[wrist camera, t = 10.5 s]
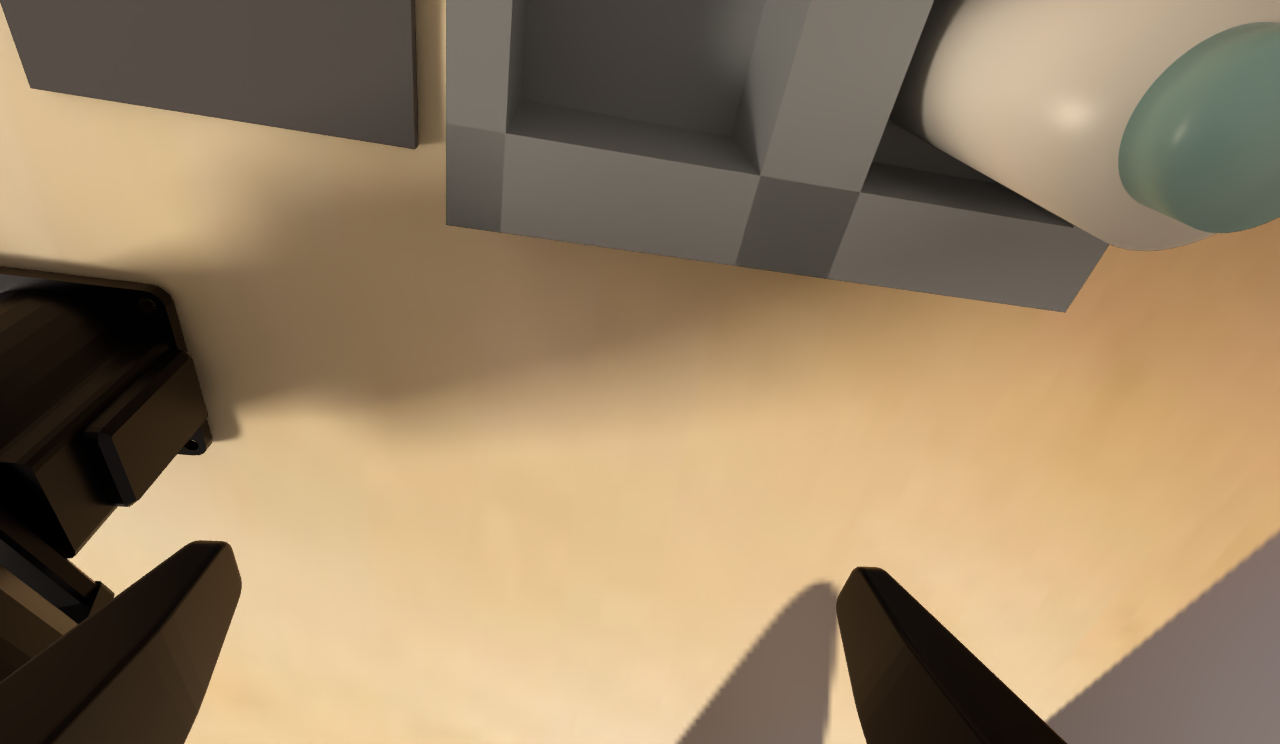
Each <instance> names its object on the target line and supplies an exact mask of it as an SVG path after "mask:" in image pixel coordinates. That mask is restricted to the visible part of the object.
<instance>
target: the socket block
mask: <svg viewBox="0 0 1280 744" xmlns="http://www.w3.org/2000/svg"><path fill="white" fill-rule="evenodd" d="M933 2H934V0H446V225H450V226H457V227H464V228H471V229H478V230H485V231H493V232H500V233H507V234H514V235H521V236H528V237H535V238H542V239H549V240H556V241H563V242H570V243H577V244H584V245H591V246H599V247H606V248H613V249H620V250H627V251H634V252H641V253H648V254H655V255H662V256H669V257H676V258H683V259H690V260H697V261H704V262H712V263H719V264H726V265H733V266H740V267H747V268H754V269H761V270H768V271H775V272H782V273H789V274H796V275H803V276H810V277H817V278H825V279H832V280H839V281H846V282H853V283H860V284H867V285H874V286H881V287H888V288H895V289H902V290H909V291H916V292H923V293H930V294H938V295H945V296H952V297H959V298H966V299H973V300H980V301H987V302H994V303H1001V304H1008V305H1015V306H1022V307H1029V308H1036V309H1043V310H1051V311H1058V312H1066V311H1067V309H1068V308H1069V306H1070V304H1071V303H1072V301H1073V300H1074V298H1075V297H1076V295H1077V294H1078V292H1079V291H1080V289H1081V287H1082V286H1083V284H1084V283H1085V281H1086V280H1087V278H1088V277H1089V275H1090V274H1091V272H1092V271H1093V269H1094V267H1095V266H1096V264H1097V263H1098V261H1099V260H1100V258H1101V257H1102V255H1103V254H1104V252H1105V250H1106V249H1107V247H1108V246H1109V244H1108V243H1106V242H1104V241H1102V240H1100V239H1098V238H1097V237H1095V236H1093V235H1091V234H1089V233H1088V232H1086V231H1084V230H1082V229H1080V228H1079V227H1077V226H1075V225H1073V224H1072V223H1070V222H1068V221H1066V220H1064V219H1063V218H1061V217H1059V216H1057V215H1056V214H1054V213H1052V212H1050V211H1048V210H1047V209H1045V208H1043V207H1041V206H1039V205H1038V204H1036V203H1034V202H1032V201H1031V200H1029V199H1027V198H1025V197H1023V196H1022V195H1020V194H1018V193H1016V192H1015V191H1013V190H1011V189H1009V188H1007V187H1006V186H1004V185H1002V184H1000V183H998V182H997V181H995V180H993V179H991V178H990V177H988V176H986V175H984V174H982V173H981V172H979V171H977V170H975V169H974V168H972V167H970V166H968V165H966V164H965V163H963V162H961V161H959V160H958V159H956V158H954V157H952V156H950V155H949V154H947V153H945V152H943V151H941V150H940V149H938V148H936V147H934V146H933V145H931V144H929V143H927V142H925V141H924V140H922V139H920V138H918V137H917V136H915V135H913V134H911V133H909V132H908V131H906V130H904V129H902V128H901V127H899V126H898V125H897V124H895V123H894V122H893V121H892V120H891V119H890V118H889V116H890V114H891V111H892V108H893V106H894V103H895V101H896V98H897V96H898V93H899V90H900V88H901V85H902V83H903V80H904V77H905V75H906V72H907V70H908V67H909V64H910V62H911V59H912V57H913V54H914V51H915V49H916V46H917V44H918V41H919V38H920V36H921V33H922V31H923V28H924V25H925V23H926V20H927V18H928V15H929V12H930V10H931V7H932V5H933Z"/></svg>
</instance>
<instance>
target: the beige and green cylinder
mask: <svg viewBox="0 0 1280 744" xmlns="http://www.w3.org/2000/svg"><path fill="white" fill-rule="evenodd" d="M889 118H890V119H891V120H892V121H893V122H894V123H895V124H897V125H898V126H899V127H901V128H902V129H904V130H906V131H908V132H909V133H911V134H913V135H915V136H917V137H918V138H920V139H922V140H924V141H925V142H927V143H929V144H931V145H933V146H934V147H936V148H938V149H940V150H941V151H943V152H945V153H947V154H949V155H950V156H952V157H954V158H956V159H958V160H959V161H961V162H963V163H965V164H966V165H968V166H970V167H972V168H974V169H975V170H977V171H979V172H981V173H982V174H984V175H986V176H988V177H990V178H991V179H993V180H995V181H997V182H998V183H1000V184H1002V185H1004V186H1006V187H1007V188H1009V189H1011V190H1013V191H1015V192H1016V193H1018V194H1020V195H1022V196H1023V197H1025V198H1027V199H1029V200H1031V201H1032V202H1034V203H1036V204H1038V205H1039V206H1041V207H1043V208H1045V209H1047V210H1048V211H1050V212H1052V213H1054V214H1056V215H1057V216H1059V217H1061V218H1063V219H1064V220H1066V221H1068V222H1070V223H1072V224H1073V225H1075V226H1077V227H1079V228H1080V229H1082V230H1084V231H1086V232H1088V233H1089V234H1091V235H1093V236H1095V237H1097V238H1098V239H1100V240H1102V241H1104V242H1106V243H1108V244H1110V245H1113V246H1115V247H1119V248H1123V249H1127V250H1136V251H1157V250H1164V249H1171V248H1176V247H1180V246H1184V245H1188V244H1191V243H1194V242H1196V241H1199V240H1202V239H1205V238H1207V237H1210V236H1212V235H1214V234H1216V233H1230V232H1237V231H1242V230H1246V229H1250V228H1254V227H1256V226H1259V225H1262V224H1265V223H1267V222H1270V221H1272V220H1274V219H1276V218H1278V217H1280V0H934V2H933V5H932V7H931V10H930V12H929V15H928V18H927V20H926V23H925V25H924V28H923V31H922V33H921V36H920V38H919V41H918V44H917V46H916V49H915V51H914V54H913V57H912V59H911V62H910V64H909V67H908V70H907V72H906V75H905V77H904V80H903V83H902V85H901V88H900V90H899V93H898V96H897V98H896V101H895V103H894V106H893V108H892V111H891V114H890V116H889Z"/></svg>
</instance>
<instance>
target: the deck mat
mask: <svg viewBox="0 0 1280 744" xmlns="http://www.w3.org/2000/svg"><path fill="white" fill-rule="evenodd" d="M0 3H1V6H2V8H3V11H4V14H5V17H6V20H7V23H8V25H9V28H10V31H11V34H12V37H13V40H14V42H15V45H16V48H17V51H18V54H19V57H20V59H21V62H22V65H23V68H24V71H25V74H26V76H27V79H28V82H29V85H30V88H33V89H39V90H46V91H52V92H58V93H64V94H71V95H77V96H83V97H90V98H96V99H102V100H108V101H115V102H121V103H127V104H134V105H140V106H146V107H153V108H159V109H165V110H171V111H178V112H184V113H190V114H197V115H203V116H209V117H215V118H222V119H228V120H234V121H241V122H247V123H253V124H259V125H266V126H272V127H278V128H285V129H291V130H297V131H303V132H310V133H316V134H322V135H329V136H335V137H341V138H347V139H354V140H360V141H366V142H373V143H379V144H385V145H391V146H398V147H404V148H410V149H416V147H417V146H418V108H417V69H416V29H415V0H0Z"/></svg>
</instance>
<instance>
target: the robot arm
mask: <svg viewBox="0 0 1280 744" xmlns="http://www.w3.org/2000/svg"><path fill="white" fill-rule="evenodd" d="M146 298H147V299H150V300H151V301H153V302H154V303H155V305H156V306H157V307H156V306H153V305H151V304H150V303H149V302H148V301H147V300H146ZM207 417H208V413H207V410H206V406H205V403H204V399H203V396H202V392H201V388H200V385H199V381H198V378H197V374H196V371H195V367H194V363H193V360H192V358H191V356H190V355H189V354H188V351H187V348H186V344H185V341H184V337H183V334H182V330H181V327H180V323H179V320H178V316H177V313H176V309H175V305H174V302H173V300H172V298H171V296H170V295H169V294H168V293H167V292H166V291H165V290H164V289H162V288H160V287H158V286H155V285H151V284H143V283H135V282H126V281H118V280H109V279H101V278H92V277H84V276H76V275H67V274H59V273H50V272H42V271H33V270H25V269H16V268H8V267H0V744H184V743H185V740H186V738H187V736H188V734H189V732H190V730H191V728H192V725H193V723H194V721H195V719H196V716H197V714H198V712H199V709H200V707H201V704H202V701H203V699H204V696H205V693H206V691H207V688H208V685H209V682H210V679H211V677H212V674H213V671H214V668H215V665H216V663H217V660H218V657H219V654H220V651H221V648H222V646H223V643H224V640H225V637H226V634H227V632H228V629H229V626H230V623H231V620H232V617H233V615H234V612H235V609H236V606H237V603H238V601H239V598H240V594H241V588H242V581H241V576H240V573H239V570H238V566H237V563H236V560H235V557H234V553H233V550H232V548H231V545H229V544H228V543H227V542H224V541H202V540H200V541H194V542H191V543H189V544H187V545H186V546H184V547H183V548H182V549H180V550H179V551H177V552H176V553H175V554H173V555H172V556H171V557H169V558H168V559H167V560H165V561H164V562H162V563H161V564H160V565H158V566H157V567H156V568H154V569H153V570H152V571H150V572H149V573H147V574H146V575H145V576H143V577H142V578H141V579H139V580H138V581H137V582H135V583H134V584H132V585H131V586H130V587H128V588H127V589H126V590H124V591H123V592H122V593H120V594H119V595H117V596H116V597H115V598H114V593H113V592H112V591H111V590H110V589H109V588H108V587H106V586H105V585H104V584H103V583H102V582H100V581H95V582H94V581H93V580H92V579H91V578H89V577H88V576H87V575H86V574H85V573H83V572H82V571H81V570H80V569H79V568H77V567H76V566H75V565H74V564H73V563H72V562H70V561H69V560H68V559H67V558H73V557H74V556H75V555H76V554H77V553H78V552H79V551H80V550H81V548H82V547H83V546H84V545H85V544H86V543H87V541H88V540H89V539H90V538H91V537H92V536H93V535H94V533H95V532H96V531H97V530H98V529H99V528H100V526H101V525H102V524H103V523H104V522H105V521H106V519H107V518H108V517H109V516H110V515H111V514H112V512H113V511H114V510H115V509H116V508H117V507H118V506H123V507H130V506H131V505H133V504H134V503H135V502H137V501H138V500H139V499H140V498H141V497H142V496H143V494H144V493H145V492H146V491H147V490H148V488H149V487H150V486H151V485H152V484H153V482H154V481H155V480H156V479H157V478H158V476H159V475H160V474H161V473H162V472H163V470H164V469H165V468H166V467H167V466H168V464H169V463H170V462H171V461H172V459H173V458H174V457H175V456H176V455H177V454H183V455H201V454H203V453H204V452H205V451H206V450H207V448H208V447H209V446H210V445H211V443H212V436H211V433H210V429H209V426H208V422H207ZM192 440H194V441H195V442H194V441H192ZM836 613H837V618H838V623H839V628H840V633H841V638H842V642H843V647H844V652H845V657H846V662H847V667H848V672H849V676H850V681H851V686H852V691H853V696H854V700H855V704H856V708H857V712H858V716H859V719H860V723H861V726H862V729H863V733H864V736H865V739H866V742H867V744H1067V743H1066V742H1065V741H1064V740H1063V739H1062V738H1061V737H1060V736H1059V735H1058V734H1057V733H1056V732H1055V731H1054V730H1052V729H1051V728H1050V727H1049V726H1048V725H1047V724H1046V723H1045V722H1044V721H1043V720H1042V719H1041V718H1040V717H1039V716H1038V715H1037V714H1036V713H1035V712H1034V711H1032V710H1031V709H1030V708H1029V707H1028V706H1027V705H1026V704H1025V703H1024V702H1023V701H1022V700H1021V699H1020V698H1019V697H1018V696H1017V695H1016V694H1015V693H1014V692H1012V691H1011V690H1010V689H1009V688H1008V687H1007V686H1006V685H1005V684H1004V683H1003V682H1002V681H1001V680H1000V679H999V678H998V677H997V676H996V675H995V674H994V673H992V672H991V671H990V670H989V669H988V668H987V667H986V666H985V665H984V664H983V663H982V662H981V661H980V660H979V659H978V658H977V657H976V656H975V655H974V654H972V653H971V652H970V651H969V650H968V649H967V648H966V647H965V646H964V645H963V644H962V643H961V642H960V641H959V640H958V639H957V638H956V637H955V636H954V635H952V634H951V633H950V632H949V631H948V630H947V629H946V628H945V627H944V626H943V625H942V624H941V623H940V622H939V621H938V620H937V619H936V618H935V617H934V616H932V615H931V614H930V613H929V612H928V611H927V610H926V609H925V608H924V607H923V606H922V605H921V604H920V603H919V602H918V601H917V600H916V599H915V598H914V597H912V596H911V595H910V594H909V593H908V592H907V591H906V590H905V589H904V588H903V587H902V586H901V585H900V584H899V583H898V582H897V581H896V580H895V579H894V578H892V577H891V576H890V575H889V574H888V573H887V572H886V571H885V570H883V569H881V568H877V567H857V568H855V569H854V570H853V571H852V572H851V574H850V576H849V578H848V579H847V581H846V583H845V585H844V587H843V588H842V590H841V592H840V594H839V596H838V598H837V602H836Z"/></svg>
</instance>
